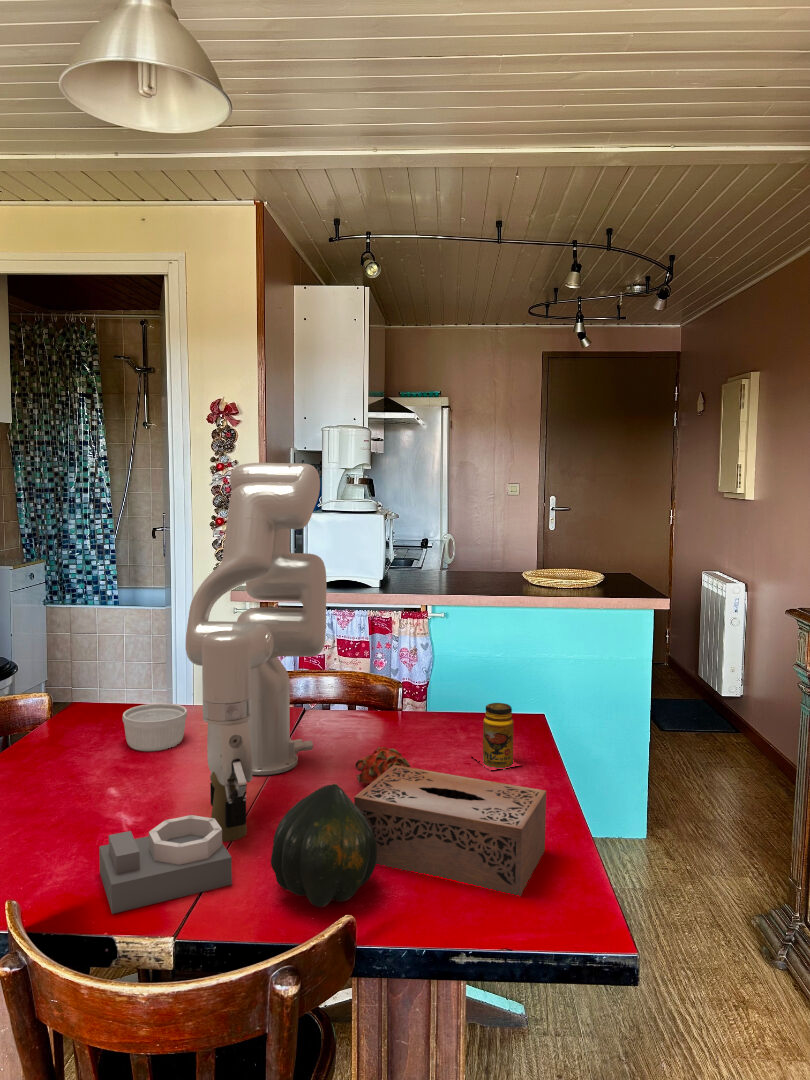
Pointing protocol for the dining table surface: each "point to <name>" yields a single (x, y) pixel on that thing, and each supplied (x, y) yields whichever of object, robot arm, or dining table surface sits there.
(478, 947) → the dining table surface
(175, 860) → the mount
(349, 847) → the squash
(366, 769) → the dragon fruit
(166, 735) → the ramekin
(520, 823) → the tissue box cover
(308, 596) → the robot arm
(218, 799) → the brown pawn shaped peg
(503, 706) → the condiment
